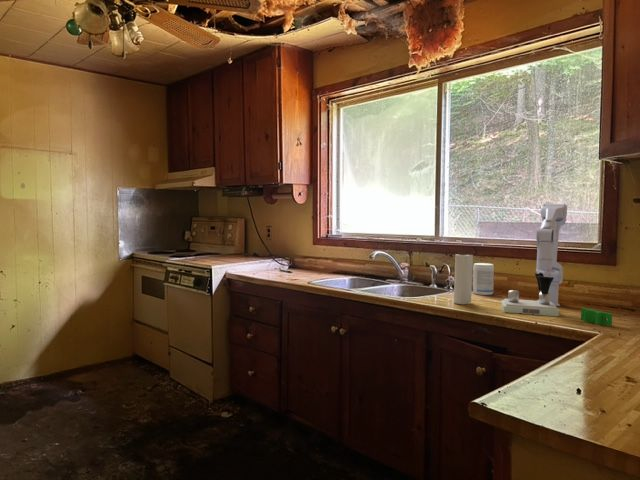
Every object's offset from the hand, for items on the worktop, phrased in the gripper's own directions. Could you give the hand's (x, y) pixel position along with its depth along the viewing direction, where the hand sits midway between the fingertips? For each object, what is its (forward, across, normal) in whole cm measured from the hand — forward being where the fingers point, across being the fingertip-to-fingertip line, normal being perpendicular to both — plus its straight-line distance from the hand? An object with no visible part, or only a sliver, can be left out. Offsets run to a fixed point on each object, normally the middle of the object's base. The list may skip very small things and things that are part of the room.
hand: (543, 292), depth 189 cm
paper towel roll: (+8, +5, +31) cm, 32 cm away
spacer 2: (+5, 0, -1) cm, 5 cm away
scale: (+8, 0, +5) cm, 9 cm away
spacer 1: (+5, 0, +11) cm, 12 cm away
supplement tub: (+8, +35, +22) cm, 42 cm away
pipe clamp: (+8, -14, -15) cm, 22 cm away
